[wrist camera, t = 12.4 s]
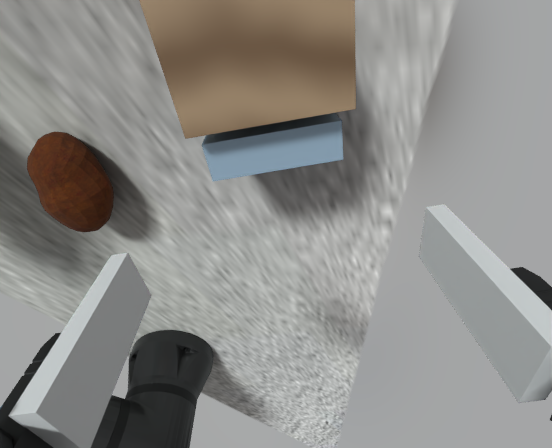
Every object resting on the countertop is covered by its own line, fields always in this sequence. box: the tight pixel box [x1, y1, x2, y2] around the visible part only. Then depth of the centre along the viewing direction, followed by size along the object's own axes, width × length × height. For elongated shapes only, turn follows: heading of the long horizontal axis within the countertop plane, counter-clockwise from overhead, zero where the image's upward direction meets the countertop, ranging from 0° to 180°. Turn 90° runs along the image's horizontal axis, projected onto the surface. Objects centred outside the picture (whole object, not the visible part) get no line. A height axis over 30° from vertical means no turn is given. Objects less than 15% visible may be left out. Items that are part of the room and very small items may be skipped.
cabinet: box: [139, 0, 356, 139], centre depth 26 cm, size 14×12×14 cm
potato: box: [27, 132, 114, 232], centre depth 34 cm, size 8×12×8 cm, turn 15°
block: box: [202, 113, 343, 181], centre depth 30 cm, size 4×11×12 cm, turn 99°
